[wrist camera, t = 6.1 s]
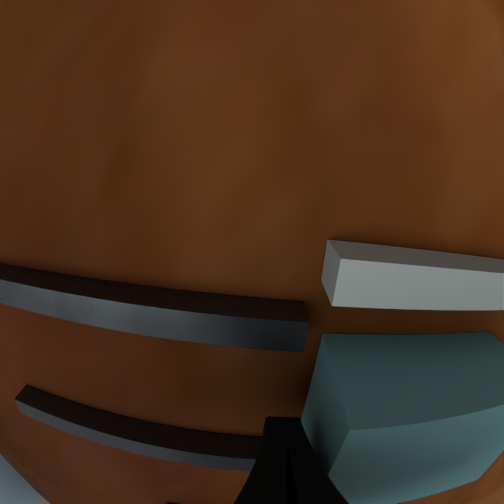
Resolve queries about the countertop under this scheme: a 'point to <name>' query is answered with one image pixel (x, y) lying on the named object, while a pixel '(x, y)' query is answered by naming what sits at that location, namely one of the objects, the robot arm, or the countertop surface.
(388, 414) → the teal block
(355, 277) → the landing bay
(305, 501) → the robot arm
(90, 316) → the parallel guide rails
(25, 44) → the countertop surface
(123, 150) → the countertop surface
